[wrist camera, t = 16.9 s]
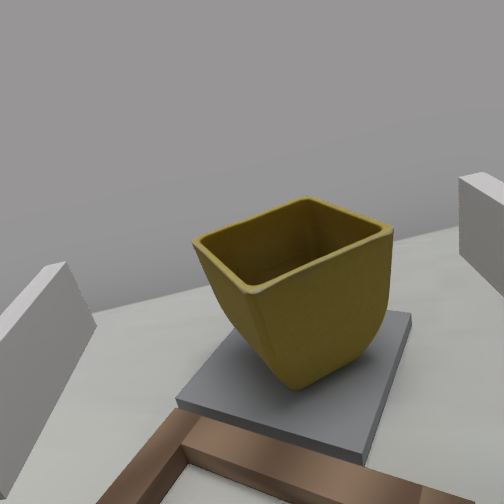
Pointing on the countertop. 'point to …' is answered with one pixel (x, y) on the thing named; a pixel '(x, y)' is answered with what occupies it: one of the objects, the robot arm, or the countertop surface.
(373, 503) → the board
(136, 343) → the countertop surface
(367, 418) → the mat
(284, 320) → the flower pot
